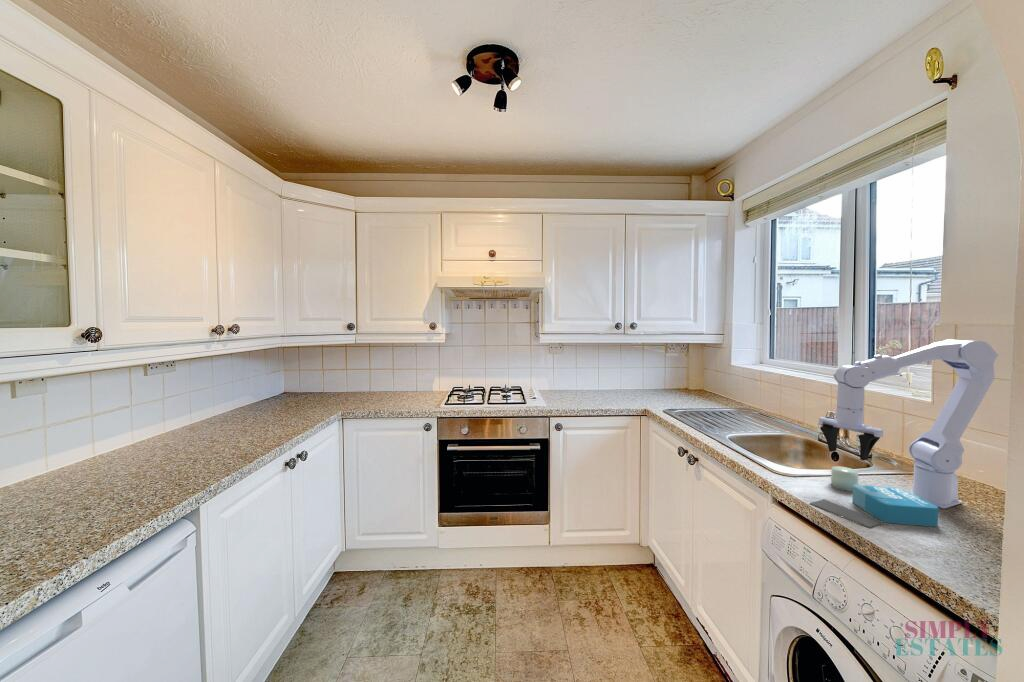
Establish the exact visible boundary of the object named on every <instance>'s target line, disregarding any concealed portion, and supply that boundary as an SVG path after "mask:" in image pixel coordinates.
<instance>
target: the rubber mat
mask: <svg viewBox="0 0 1024 682" xmlns="http://www.w3.org/2000/svg"><path fill="white" fill-rule="evenodd" d="M809 505H811V506H813V507H816V508H819V509H820V510H821V509H822V510H823V511H825V512H828V511H829V512H828V513H831V512H832V513H831V514H833V513H834V514H833V515H836V514H837V515H836V516H838V515H840V516H843V517H845V518H847V519H846V520H848V519H849V520H848V521H850V520H851V521H850V522H853V521H854V522H853V523H855V522H857V523H856V524H858V525H860V524H861V525H860V526H863V525H864V526H863V527H865V526H866V528H868V529H872V528H873V527H874V526H875V527H877V526H881V525H884V524H885V522H883V521H881V520H879V519H877V518H875V517H872V516H869V515H866V514H864V513H861V512H858V511H856V510H853V509H851V508H848V507H846V506H843V505H840V504H837V503H835V502H832V501H829V500H828V499H824V498H823V499H820V500H816V501H812V502H809ZM840 516H839V517H840ZM843 517H842V518H843ZM845 518H844V519H845ZM871 527H872V528H871ZM875 527H874V528H875Z"/></svg>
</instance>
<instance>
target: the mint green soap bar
mask: <svg viewBox="0 0 1024 682" xmlns="http://www.w3.org/2000/svg"><path fill="white" fill-rule="evenodd" d="M830 471H831V477H830V480H831V482H830V483H831V486H832V487H833V488H835V489H838V488H839V490H842V491H846V490H847V492H853V486H854V485H859V471H858V470H856V469H853V468H851V467H846V466H840V465H839V466H838V465H837V466H834V465H833V466H831V469H830Z"/></svg>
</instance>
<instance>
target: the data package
mask: <svg viewBox="0 0 1024 682" xmlns="http://www.w3.org/2000/svg"><path fill="white" fill-rule="evenodd" d="M851 501H852V503H853V504H855V506H856V505H857V506H858V507H859V508H861V509H862V510H864V511H865V512H867V513H868V514H870V515H871V516H873V518H875V519H877V520H880V521H882V522H884V523H888V524H895V525H896V524H897V525H910V526H911V525H912V526H921V527H922V526H923V527H935V528H936V527H938V523H939V522H938V521H939V508H940V507H937V506H935V505H933V504H931V503H930V502H928V501H926V500H924V499H922V498H920V497H918V496H916V495H914V494H912V492H910V491H908V490H906V489H903V488H900V487H891V486H880V485H879V486H878V485H877V486H875V485H862V484H858V485H854V486H853V491H852V500H851Z"/></svg>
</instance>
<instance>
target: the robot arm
mask: <svg viewBox="0 0 1024 682" xmlns="http://www.w3.org/2000/svg"><path fill="white" fill-rule="evenodd" d="M998 356H999V354H998V353H997V352H996V350H995V349H994V348H993V347H992V345H991V344H990V343H988V342H986V341H983V340H963V339H962V340H960V339H954V338H948V339H944V340H942V341H935V342H932V343H931V344H926V345H924V346H921V347H919V348H916V349H912V350H911V351H910V350H909V351H907V352H904V353H901V354H899V355H896V356H891V355H888V354H887V355H886V354H883V355H882V354H875V355H873V358H870V359H867V360H864V361H854V364H853V365H850V364H847V365H846V364H845V365H842V366H840V367H838V368H837V369H836V370H835V373H833V378H834V380H835V381H836V382H837V391H836V392H837V397H836V418H829V417H825V416H823V417H818V425H821V426H820V427H819V428H820V431H821V433H822V434H823V436H824V439H825V440H826V444H827V447H828V451H829V452H830V453H833V452H837V449H838V447H837V446H838V437H839V431H840V429H842V430H848V431H851V432H856V433H861V434H858V440H859V447H860V450H859V460H861V461H867V460H868V459H869V456H870V454H871V451H872V450H873V448H874V446H875V444H877V442H878V441H879V440H880V438H882V437H883V436H884V429H881V428H878V427H874V426H870V425H867V424H864V410H865V409H864V406H865V405H864V404H865V387H866V386H868V385H869V384H870V382H874V381H878V380H881V379H884V378H888V377H891V376H894V375H897V374H898V373H899V371H900V369H902V368H903V369H904V368H906V367H910V366H915V365H918V364H919V365H920V364H923V363H927V362H931V361H934V360H935V361H936V360H941V361H942V362H944V363H945V364H947V365H948V366H949V367H950V368H952V369H953V371H954V372H955V373H956V374H957V375H958V377H959V378H958V379H957V382H956V384H955V386H954V387H953V389H952V390H951V393H949V395H948V398H947V399H946V401H945V403H944V405H943V407H942V408H941V411H940V412H939V413H938V416H937V417H936V419H935V421H934V423H933V425H932V426H931V428H930V429H929V430H926V431H924V432H922V433H920V434H919V436H918V437H917V439H915V440H914V441H912V442H911V443H910V444H909V445H908V453H909V455H910V456H911V458H913V481H912V482H913V483H912V492H911V493H912V494H914V495H916V496H918V497H920V498H922V499H924V500H926V501H928V502H930V503H931V504H933V505H935V506H937V507H938V508H941V509H948V508H950V507H953V506H957V505H959V504H960V505H961V504H962V503H963V501H962V500H960V499H958V495H959V494H958V493H959V477H958V476H959V475H957V473H956V472H955V471H957V470H959V469H960V468H961V466H962V464H963V454H964V452H965V448H964V446H963V445H962V442H961V441H960V440H961V438H962V436H963V434H964V432H965V431H966V430H967V427H968V426H969V424H970V422H971V420H972V419H973V417H974V415H975V413H976V412H977V410H978V408H979V406H980V405H981V403H982V401H983V399H984V398H985V396H986V394H987V392H988V390H989V388H990V387H991V386H992V384H993V382H994V379H995V361H996V360H997V357H998Z"/></svg>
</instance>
